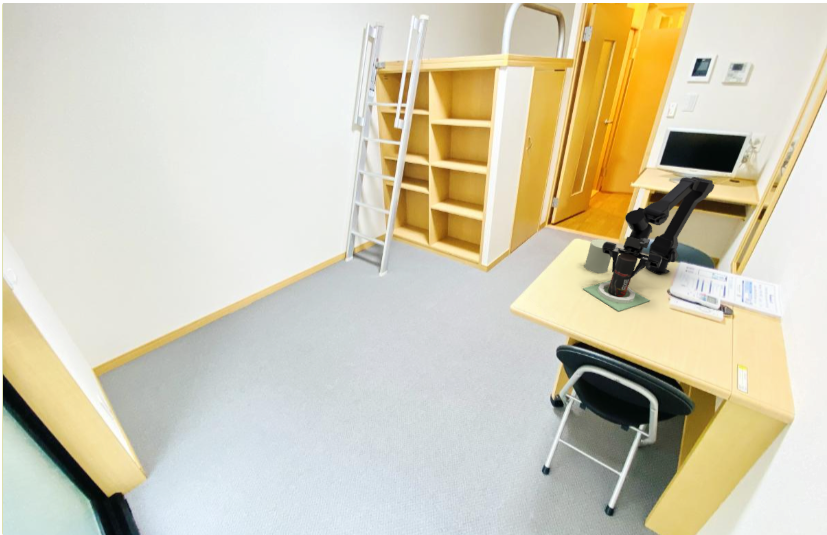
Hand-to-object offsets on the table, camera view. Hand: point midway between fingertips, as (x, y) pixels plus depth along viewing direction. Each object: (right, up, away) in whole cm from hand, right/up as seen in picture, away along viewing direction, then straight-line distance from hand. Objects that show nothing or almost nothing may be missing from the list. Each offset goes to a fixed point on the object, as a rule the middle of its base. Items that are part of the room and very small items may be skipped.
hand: (621, 274), depth 125 cm
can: (+3, +2, +24) cm, 24 cm away
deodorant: (+1, -7, +5) cm, 9 cm away
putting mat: (+1, -8, +5) cm, 10 cm away
